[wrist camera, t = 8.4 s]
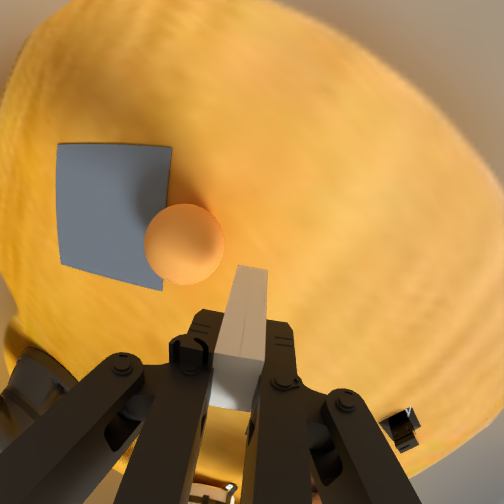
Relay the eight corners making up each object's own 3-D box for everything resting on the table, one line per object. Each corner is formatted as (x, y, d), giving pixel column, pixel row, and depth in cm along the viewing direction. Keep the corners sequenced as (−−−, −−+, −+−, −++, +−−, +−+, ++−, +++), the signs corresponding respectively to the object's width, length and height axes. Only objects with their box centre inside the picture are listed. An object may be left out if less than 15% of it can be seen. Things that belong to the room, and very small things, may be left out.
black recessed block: (365, 416, 29) (371, 443, 24) (415, 390, 27) (426, 417, 22) (388, 444, 32) (393, 465, 27) (429, 424, 30) (436, 445, 25)
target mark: (62, 263, 23) (61, 263, 23) (59, 144, 19) (57, 144, 19) (162, 290, 23) (161, 291, 23) (172, 147, 19) (171, 147, 18)
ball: (233, 270, 21) (173, 254, 23) (238, 201, 19) (171, 190, 20) (201, 310, 17) (132, 287, 18) (201, 227, 14) (123, 211, 15)
